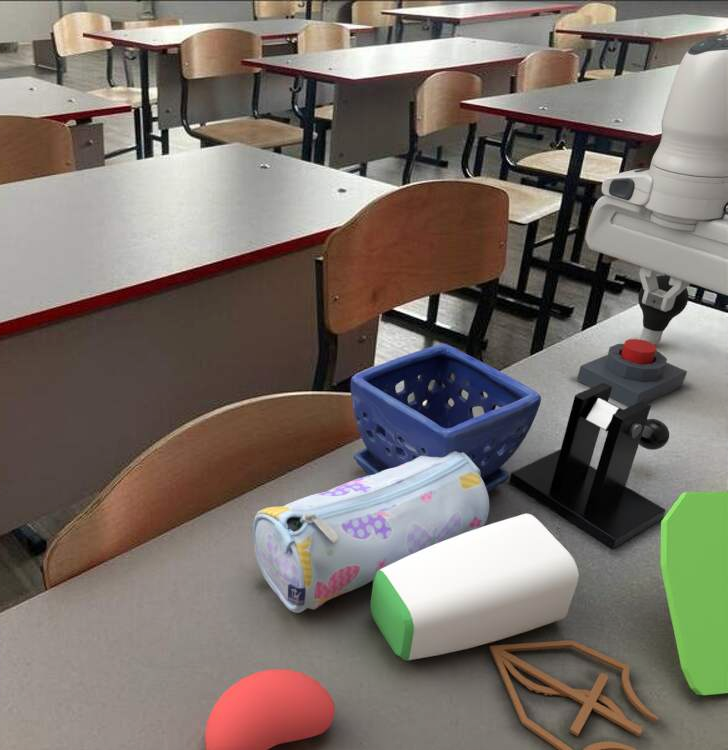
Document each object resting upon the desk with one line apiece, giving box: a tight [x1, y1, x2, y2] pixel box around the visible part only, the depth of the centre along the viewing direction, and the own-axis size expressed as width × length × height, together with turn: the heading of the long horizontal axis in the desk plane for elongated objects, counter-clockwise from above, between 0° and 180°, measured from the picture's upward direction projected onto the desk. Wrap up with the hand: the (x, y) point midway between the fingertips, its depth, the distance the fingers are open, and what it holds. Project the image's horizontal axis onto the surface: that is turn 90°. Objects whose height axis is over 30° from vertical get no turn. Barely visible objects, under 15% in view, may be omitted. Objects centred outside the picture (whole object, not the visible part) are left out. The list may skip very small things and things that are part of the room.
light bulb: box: [637, 274, 689, 345], centre depth 107 cm, size 6×6×10 cm
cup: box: [370, 513, 580, 662], centre depth 64 cm, size 7×7×15 cm
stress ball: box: [204, 668, 336, 750], centre depth 55 cm, size 5×9×6 cm
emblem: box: [489, 639, 659, 750], centre depth 60 cm, size 12×10×1 cm
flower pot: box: [350, 343, 542, 493], centre depth 79 cm, size 13×13×12 cm
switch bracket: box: [509, 383, 666, 550], centre depth 77 cm, size 8×12×12 cm, turn 33°
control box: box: [576, 343, 688, 407], centre depth 99 cm, size 10×8×4 cm
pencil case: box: [252, 451, 490, 614], centre depth 69 cm, size 21×9×10 cm, turn 118°
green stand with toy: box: [659, 490, 728, 696], centre depth 65 cm, size 15×15×6 cm
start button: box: [621, 338, 658, 364], centre depth 98 cm, size 4×4×2 cm
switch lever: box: [586, 398, 670, 451], centre depth 78 cm, size 14×3×3 cm, turn 124°
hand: (656, 306), depth 94 cm, fingers closed
